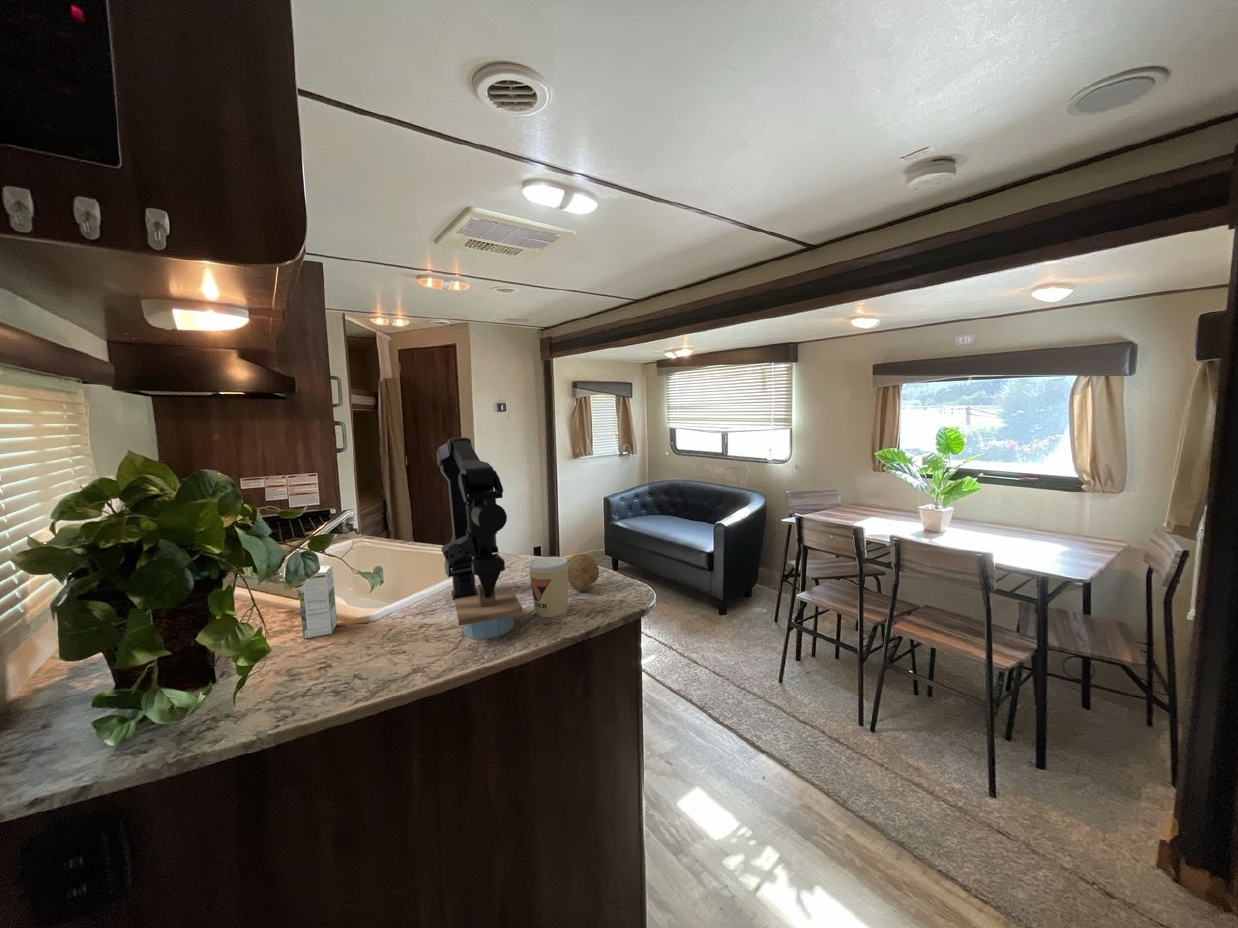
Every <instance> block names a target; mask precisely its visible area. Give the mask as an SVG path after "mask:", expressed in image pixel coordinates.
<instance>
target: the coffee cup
mask: <svg viewBox="0 0 1238 928" xmlns="http://www.w3.org/2000/svg"><path fill="white" fill-rule="evenodd" d="M567 561H568V560H567V558H564V557H563V556H562V557H561V556H545V557H539V558H535V559H533V560H531V561H530V563H529V565H528V570H529V576H530V577H529V578H530V584H531V592H532V598H533V606H534V612H535V614H536V615H537V616H539V617H543V618H552V617H553V618H554V617H558V616H562V615H564V614H565V613H566V612H567V611H568V603H569V601H568V599H569V597H568V596H569V595H568V594H569V582H568V565H569V564H568V562H567Z"/></svg>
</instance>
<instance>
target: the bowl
mask: <svg viewBox="0 0 1238 928" xmlns="http://www.w3.org/2000/svg"><path fill="white" fill-rule="evenodd" d="M514 626H515V622H514V615H512V616H507V617H502V618H497V619H492V620H487V621H482V622H476V623H471V624H466V625H463V632H464V636H465V637H467V638H470V639H473V640H488V639H489V640H490V639H493V638H498V637H501V636H503V635H505V634H507V633H509V632H510V631H511V630H512V629H513V628H514Z"/></svg>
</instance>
